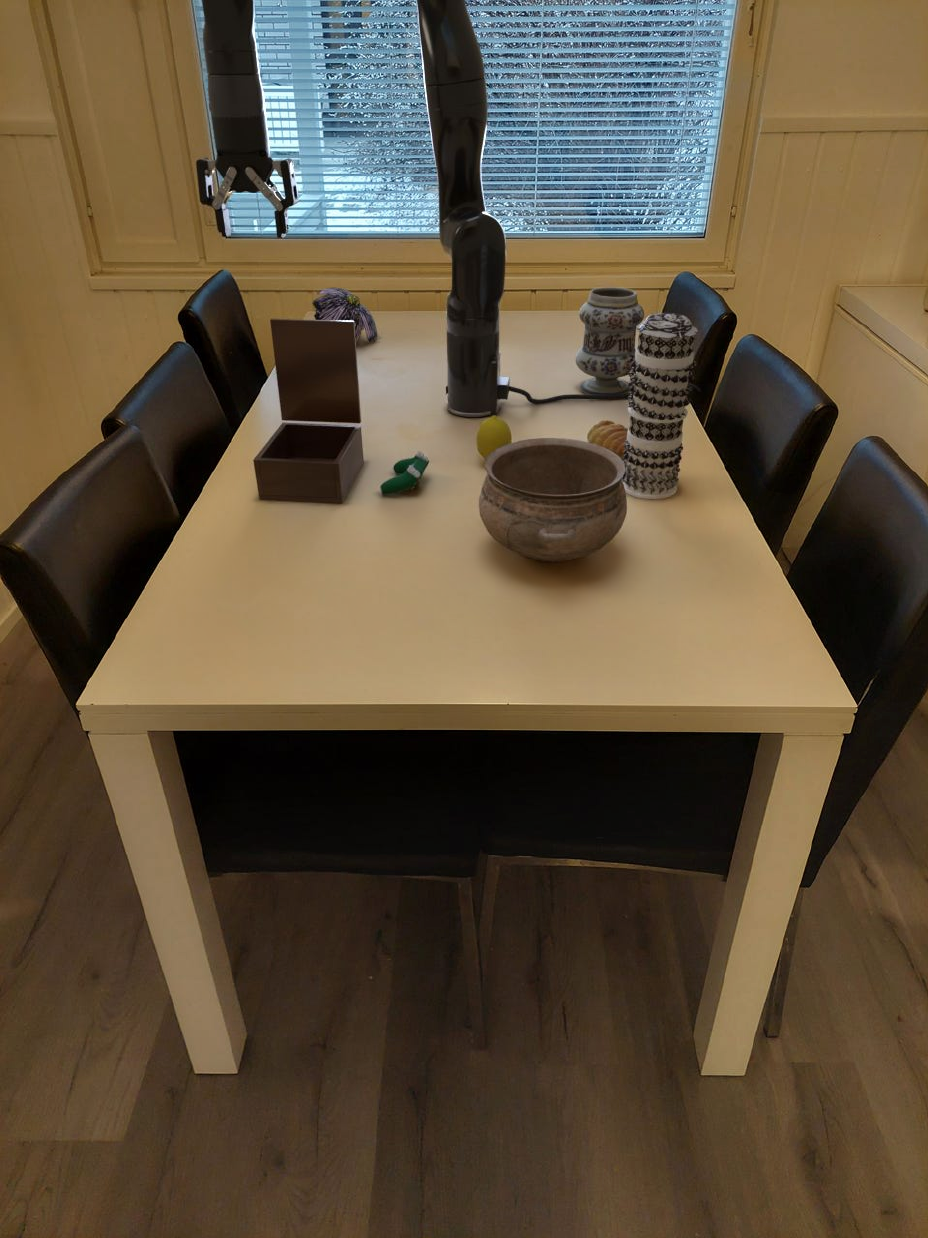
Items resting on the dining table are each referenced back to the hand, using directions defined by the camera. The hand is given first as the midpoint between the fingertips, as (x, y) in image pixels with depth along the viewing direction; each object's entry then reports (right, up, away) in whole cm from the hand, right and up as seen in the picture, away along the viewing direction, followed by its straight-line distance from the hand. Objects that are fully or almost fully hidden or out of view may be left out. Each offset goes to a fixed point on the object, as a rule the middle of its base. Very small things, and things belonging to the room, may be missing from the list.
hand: (254, 236), depth 132 cm
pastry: (+56, -29, +13) cm, 65 cm away
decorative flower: (+5, +5, +65) cm, 66 cm away
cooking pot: (+43, -48, -15) cm, 66 cm away
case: (+8, -36, +4) cm, 37 cm away
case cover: (+9, -20, +2) cm, 22 cm away
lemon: (+36, -33, +8) cm, 50 cm away
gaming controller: (+23, -37, +2) cm, 43 cm away
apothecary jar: (+58, -13, +37) cm, 70 cm away
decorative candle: (+59, -38, +1) cm, 70 cm away
